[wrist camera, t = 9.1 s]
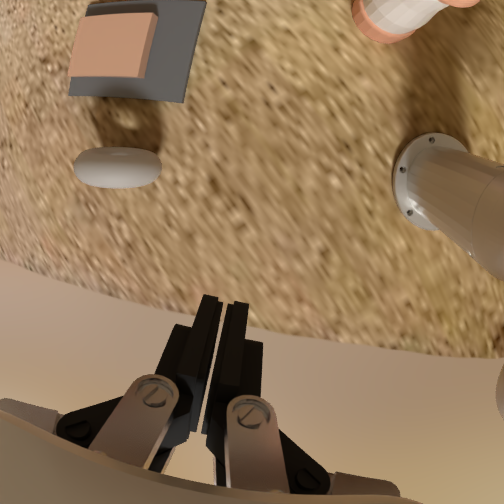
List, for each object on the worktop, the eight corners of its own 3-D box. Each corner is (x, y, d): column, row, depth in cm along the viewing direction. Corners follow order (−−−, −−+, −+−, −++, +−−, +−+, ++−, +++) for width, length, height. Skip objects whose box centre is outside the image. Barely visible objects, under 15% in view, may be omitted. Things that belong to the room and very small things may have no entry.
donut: (174, 149, 35) (142, 162, 26) (171, 177, 36) (139, 199, 27) (102, 142, 35) (56, 153, 26) (100, 168, 36) (55, 186, 27)
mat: (206, 3, 27) (205, 1, 27) (183, 103, 33) (181, 103, 32) (91, 6, 27) (88, 4, 26) (71, 95, 32) (68, 95, 31)
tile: (152, 12, 25) (80, 17, 25) (137, 77, 29) (67, 76, 28) (159, 17, 27) (89, 20, 27) (144, 78, 31) (76, 77, 30)
